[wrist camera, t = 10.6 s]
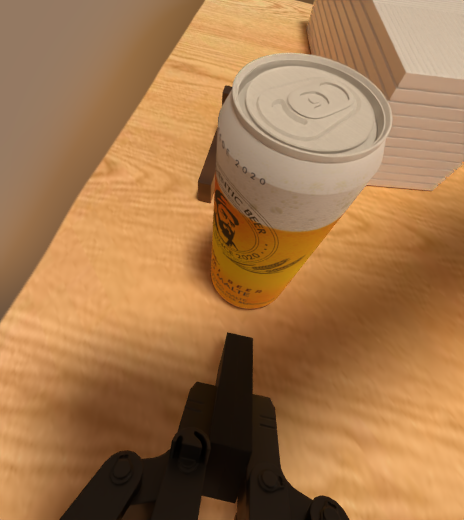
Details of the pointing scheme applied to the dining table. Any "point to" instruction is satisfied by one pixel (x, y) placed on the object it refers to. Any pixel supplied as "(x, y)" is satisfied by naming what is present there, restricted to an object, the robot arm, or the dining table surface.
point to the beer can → (288, 167)
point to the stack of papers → (404, 78)
